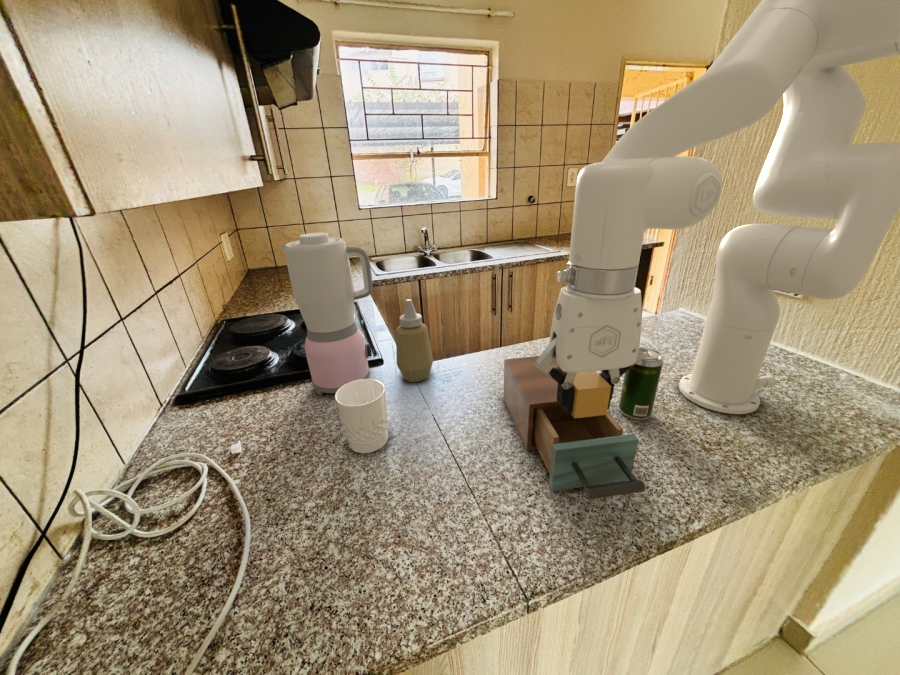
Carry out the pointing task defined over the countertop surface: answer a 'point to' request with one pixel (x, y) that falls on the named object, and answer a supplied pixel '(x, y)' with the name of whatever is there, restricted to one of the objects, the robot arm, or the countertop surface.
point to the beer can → (641, 385)
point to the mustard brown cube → (590, 395)
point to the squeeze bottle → (413, 346)
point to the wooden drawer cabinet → (527, 394)
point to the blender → (329, 308)
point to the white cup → (363, 414)
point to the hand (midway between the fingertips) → (583, 404)
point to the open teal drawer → (586, 452)
